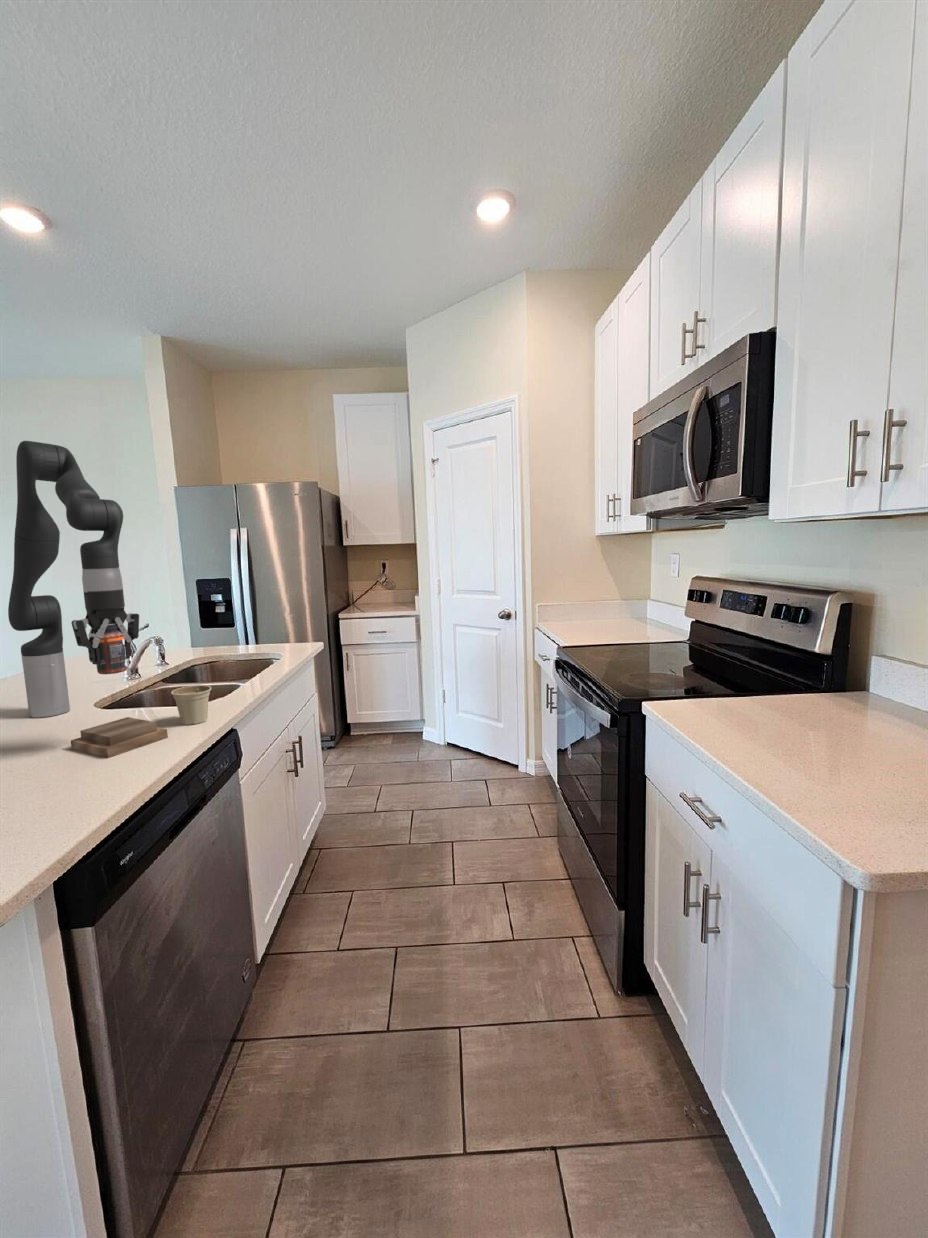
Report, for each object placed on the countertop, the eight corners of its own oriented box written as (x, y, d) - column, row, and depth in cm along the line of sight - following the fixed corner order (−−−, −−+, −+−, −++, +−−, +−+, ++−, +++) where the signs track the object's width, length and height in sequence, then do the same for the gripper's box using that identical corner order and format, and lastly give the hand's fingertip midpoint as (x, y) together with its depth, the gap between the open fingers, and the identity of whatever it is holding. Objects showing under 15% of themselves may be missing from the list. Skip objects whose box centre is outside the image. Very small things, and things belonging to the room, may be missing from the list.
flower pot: (203, 727, 138) (200, 694, 137) (166, 727, 138) (163, 694, 137) (220, 716, 147) (217, 685, 146) (186, 716, 147) (183, 685, 146)
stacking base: (71, 748, 124) (69, 732, 124) (131, 730, 137) (130, 714, 136) (108, 758, 118) (106, 740, 117) (167, 737, 130) (166, 721, 130)
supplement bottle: (133, 669, 128) (128, 621, 126) (115, 675, 122) (109, 625, 120) (110, 669, 128) (105, 622, 127) (90, 675, 122) (85, 625, 121)
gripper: (124, 586, 131) (132, 654, 133) (58, 590, 118) (68, 666, 120) (144, 586, 127) (151, 656, 129) (78, 591, 115) (87, 669, 117)
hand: (111, 661), depth 125 cm, fingers closed on supplement bottle, 6 cm apart
